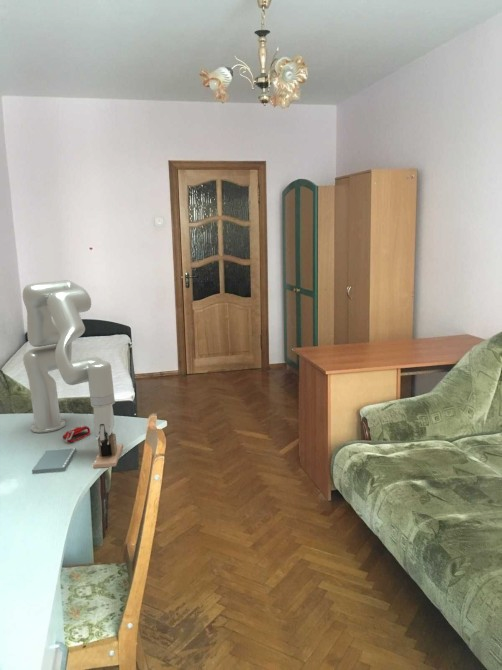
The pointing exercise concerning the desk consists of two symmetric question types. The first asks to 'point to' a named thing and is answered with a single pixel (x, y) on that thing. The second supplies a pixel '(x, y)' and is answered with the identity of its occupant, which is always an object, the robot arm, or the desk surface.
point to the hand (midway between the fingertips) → (108, 451)
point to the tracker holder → (74, 431)
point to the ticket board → (54, 461)
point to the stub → (108, 460)
